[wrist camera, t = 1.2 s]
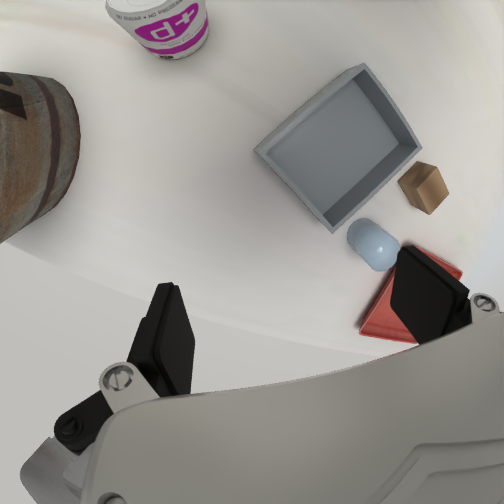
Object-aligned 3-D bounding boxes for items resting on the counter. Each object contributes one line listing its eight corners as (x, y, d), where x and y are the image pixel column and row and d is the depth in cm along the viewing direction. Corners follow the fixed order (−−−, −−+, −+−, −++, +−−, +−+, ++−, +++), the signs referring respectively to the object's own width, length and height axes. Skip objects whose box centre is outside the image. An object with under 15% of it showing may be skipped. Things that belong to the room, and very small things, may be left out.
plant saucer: (401, 236, 39) (412, 244, 36) (455, 264, 43) (464, 272, 40) (350, 323, 46) (357, 335, 43) (410, 334, 50) (417, 344, 47)
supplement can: (216, 49, 26) (209, -4, 12) (152, 69, 26) (104, 35, 13) (202, 2, 22) (189, -61, 9) (140, 22, 23) (95, -27, 9)
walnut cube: (416, 161, 34) (437, 167, 29) (429, 185, 36) (449, 193, 31) (396, 180, 35) (416, 189, 31) (410, 204, 37) (429, 215, 32)
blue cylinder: (365, 211, 37) (390, 228, 30) (381, 234, 38) (405, 253, 32) (340, 233, 38) (361, 255, 32) (358, 255, 40) (378, 278, 33)
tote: (347, 69, 28) (364, 62, 23) (401, 144, 33) (422, 147, 28) (253, 149, 32) (257, 152, 27) (319, 220, 37) (332, 234, 32)
